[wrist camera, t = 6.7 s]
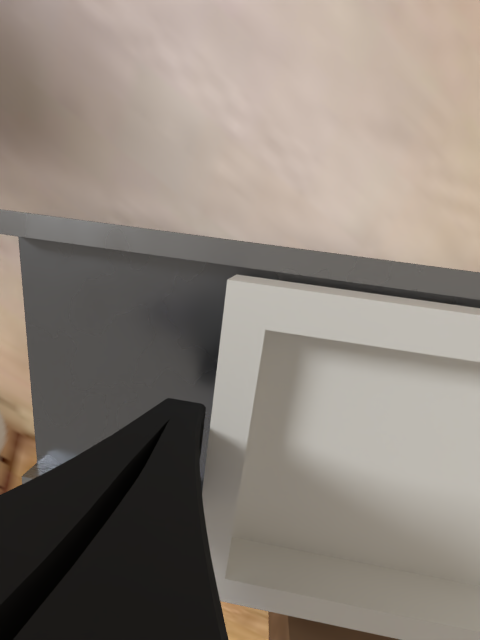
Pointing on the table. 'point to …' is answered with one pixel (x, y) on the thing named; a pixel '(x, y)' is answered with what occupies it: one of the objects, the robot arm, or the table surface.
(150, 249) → the track
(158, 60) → the table surface
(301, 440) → the white shallow tray
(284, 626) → the walnut block
